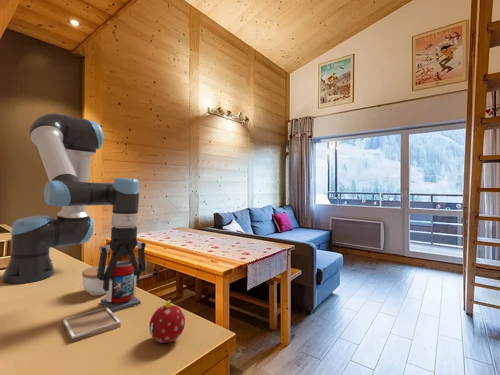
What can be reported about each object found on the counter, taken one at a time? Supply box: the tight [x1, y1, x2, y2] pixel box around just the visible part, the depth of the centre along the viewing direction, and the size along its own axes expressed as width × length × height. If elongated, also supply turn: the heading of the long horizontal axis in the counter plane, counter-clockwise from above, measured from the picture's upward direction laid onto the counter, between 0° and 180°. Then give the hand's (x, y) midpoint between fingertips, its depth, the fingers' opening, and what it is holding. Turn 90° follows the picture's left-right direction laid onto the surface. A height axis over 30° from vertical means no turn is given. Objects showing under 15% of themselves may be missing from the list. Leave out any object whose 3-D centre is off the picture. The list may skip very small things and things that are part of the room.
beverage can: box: [110, 260, 134, 304], centre depth 84 cm, size 7×7×12 cm
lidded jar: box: [81, 265, 108, 297], centre depth 92 cm, size 11×11×9 cm
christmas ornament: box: [148, 299, 186, 344], centre depth 66 cm, size 9×9×10 cm
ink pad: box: [100, 295, 141, 313], centre depth 84 cm, size 9×9×1 cm
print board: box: [62, 306, 121, 343], centre depth 71 cm, size 11×11×1 cm
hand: (121, 297), depth 84 cm, fingers closed on beverage can, 7 cm apart
